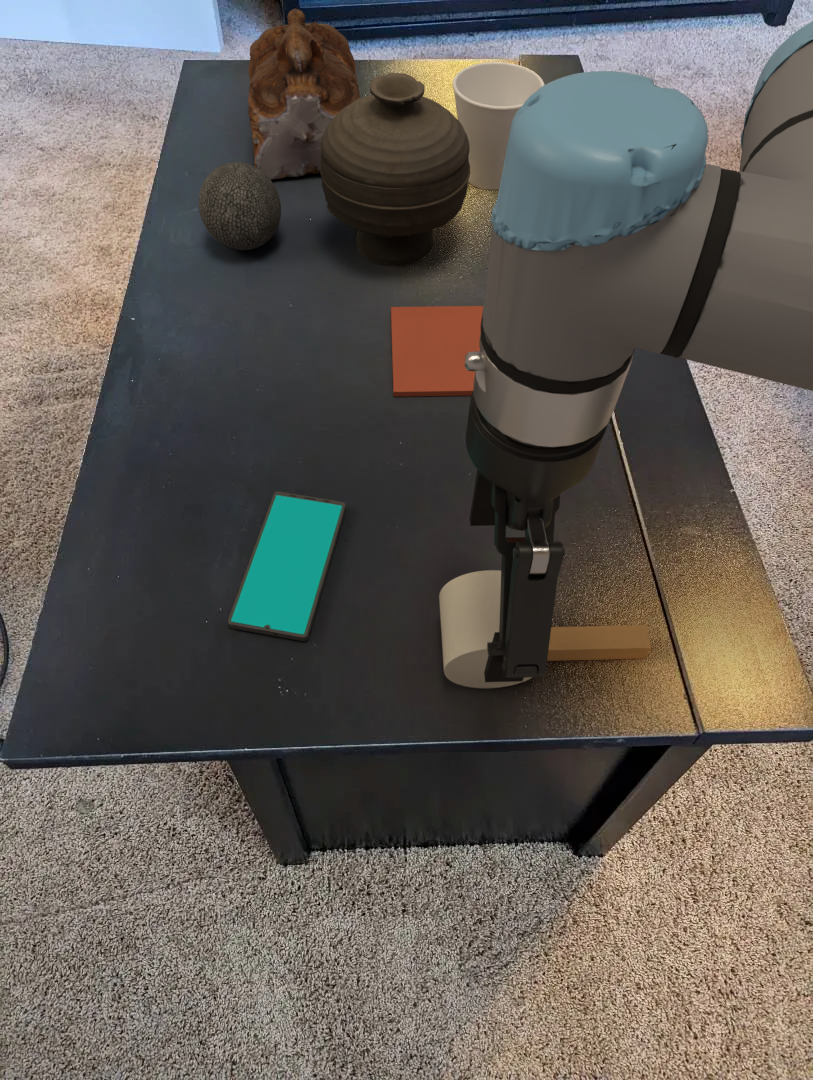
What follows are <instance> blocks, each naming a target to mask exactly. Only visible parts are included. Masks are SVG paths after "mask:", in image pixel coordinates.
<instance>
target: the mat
mask: <svg viewBox="0 0 813 1080" xmlns="http://www.w3.org/2000/svg"><path fill="white" fill-rule="evenodd" d="M482 313H483V305H447V306H445V305H444V306H442V305H441V306H438V305H437V306H433V305H432V306H391V307H390V318H391V319H390V322H391V323H390V324H391V325H390V326H391V354H392V356H391V357H392V359H391V361H392V388H393V389H392V391H393V397H394V398H396V397H397V398H399V397H400V398H401V397H403V398H404V397H405V398H406V397H407V398H408V397H453V396H454V397H463V396H465V397H467V396H468V397H469V396H470V397H471V395H472V392H473V384H474V377H475V371H468V370H467V369H466V367H465V366H464V365H465V355H466V354H467V353H468V352H475V351H480V346H479V340H480V333H481V319H482Z"/></svg>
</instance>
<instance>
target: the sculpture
mask: <svg viewBox="0 0 813 1080" xmlns="http://www.w3.org/2000/svg"><path fill="white" fill-rule="evenodd" d="M286 18H287V24H280V25H276V26H272V27H269V28H266V29H265V30H264V31H263V32H262V33H261V34H260V36H259V37H258V38H257V39H256V40H254V41H253V42H252V43H251V45H250V46H249V57H250V58H249V64H248V66H247V70H248V79H249V88H248V89H249V91H248V97H247V103H248V106H247V107H248V110H247V114H248V116H249V125H250V129H251V143H252V151H253V158H254V159H253V163H254V167H256V168H258V169H259V170H261V171H262V172H263V173H265V174H266V175H267V176H268V177H269V178H270V180H271V181H272V180H280V179H285V178H297V177H303V176H305V175H318V174H321V173H320V170H321V168H320V167H321V165H320V164H321V162H320V159H321V141H322V137H323V134H324V131H325V129H326V128H327V126H328V125H329V124H330V122H331V120H332V119H333V118H334V117H335V116H336V115H337V114H338V113H339V112H340V111H341V110H342V109H344V108H345V107H346V106H348V105H350V104H351V103H353V102H354V101H356V100H358V99H360V98H362V97H361V93H360V87H359V84H358V77H357V68H356V60H355V58H354V54H353V53H352V51H351V49H350V44H349V41H348V39H347V37H346V36H344V35H343V34H342V33H341V32H339V30H338V29H337V28H335V27H334V26H332V25H330V24H329V23H318V22H317V21H314V22H306V14H305V13H304V11H302V10H301V9H298V8H293V9H291V10H290V11H289V12H288V14H287V17H286Z"/></svg>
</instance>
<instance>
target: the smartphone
mask: <svg viewBox="0 0 813 1080" xmlns="http://www.w3.org/2000/svg"><path fill="white" fill-rule="evenodd" d="M269 503H270V504H269V506H268V508H267V511H266V514H265V517H264V519H263V522H262V525H261V528H260V531H259V533H258V536H257V538H256V541H255V544H254V547H253V549H252V552H251V555H250V557H249V560H248V563H247V566H246V569H245V572H244V574H243V576H242V579H241V582H240V583H239V587H238V589H237V593H236V595H235V599H234V601H233V605H232V608H231V610H230V613H229V615H228V618H227V623H228V626H229V628H230V629H234V630H239V631H245V632H250V633H256V634H262V635H267V636H273V637H279V638H282V639H283V638H284V639H289V640H294V641H299V642H300V641H301V642H306V641H308V639H309V637H310V635H311V630H312V626H313V623H314V620H315V616H316V614H317V610H318V607H319V603H320V600H321V597H322V593H323V590H324V586H325V582H326V579H327V575H328V572H329V569H330V566H331V562H332V560H333V559H332V558H333V555H334V552H335V549H336V544H337V541H338V539H339V535H340V532H341V527H342V524H343V522H344V517H345V514H346V511H347V507H346V506H347V505H346V503H345V501H340V500H333V499H328V498H323V497H322V498H321V497H315V496H309V495H302V494H297V493H291V492H285V491H278V490H276V491H274V493H273V494H272V497H271V500H270V502H269Z"/></svg>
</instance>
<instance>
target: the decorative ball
mask: <svg viewBox="0 0 813 1080" xmlns="http://www.w3.org/2000/svg"><path fill="white" fill-rule="evenodd" d="M198 211H199V215H200V218H201V222H202V224H203V225H204V227H205V229H206V230H207V232H208V234H209V235H211V237H212V238H213V239H214V240H215V241H217V242H218V243H220V244H221V245H223V246H224V247H227V248H229V249H232V250H238V251H249V250H254V249H257V248H259V247H261V246H263V245H265V244H267V242H268V241H270V239H271V238H272V237H273V236H274V234H275V233H276V232H277V229H278V227H279V225H280V222H281V217H282V216H281V215H282V204H281V200H280V195H279V193H278V190H277V187H276V185H275V184H274V182H273V181H272V180H270V178H269V177H268V176H267V175H266V174H265V173H263V172H262V171H261V170H259V169H258V168H256V167H255V165H251V164H248V163H246V162H239V161H237V162H235V161H233V162H228V163H224V164H221V165H219V166H217V167H215V168H214V169H212V171H211V172H209V173H208V174H207V176H206V177H205V179H204V181H203V183H202V184H201V187H200V190H199V194H198Z"/></svg>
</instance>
